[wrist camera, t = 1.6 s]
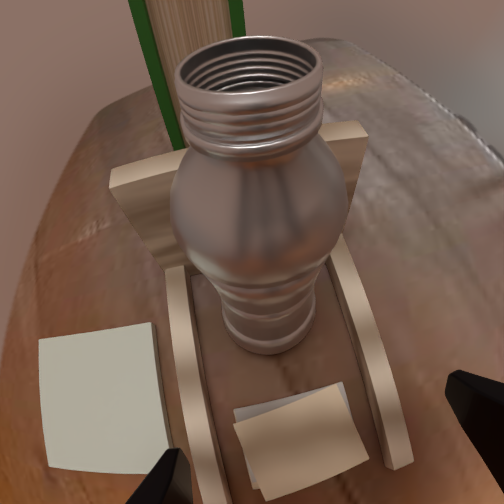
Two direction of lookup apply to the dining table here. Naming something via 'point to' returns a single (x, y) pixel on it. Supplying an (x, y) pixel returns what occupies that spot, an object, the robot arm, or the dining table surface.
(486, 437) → the robot arm
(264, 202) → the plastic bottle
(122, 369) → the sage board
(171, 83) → the hardback book
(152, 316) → the dining table surface
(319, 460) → the offcut stack
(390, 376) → the birch rack
